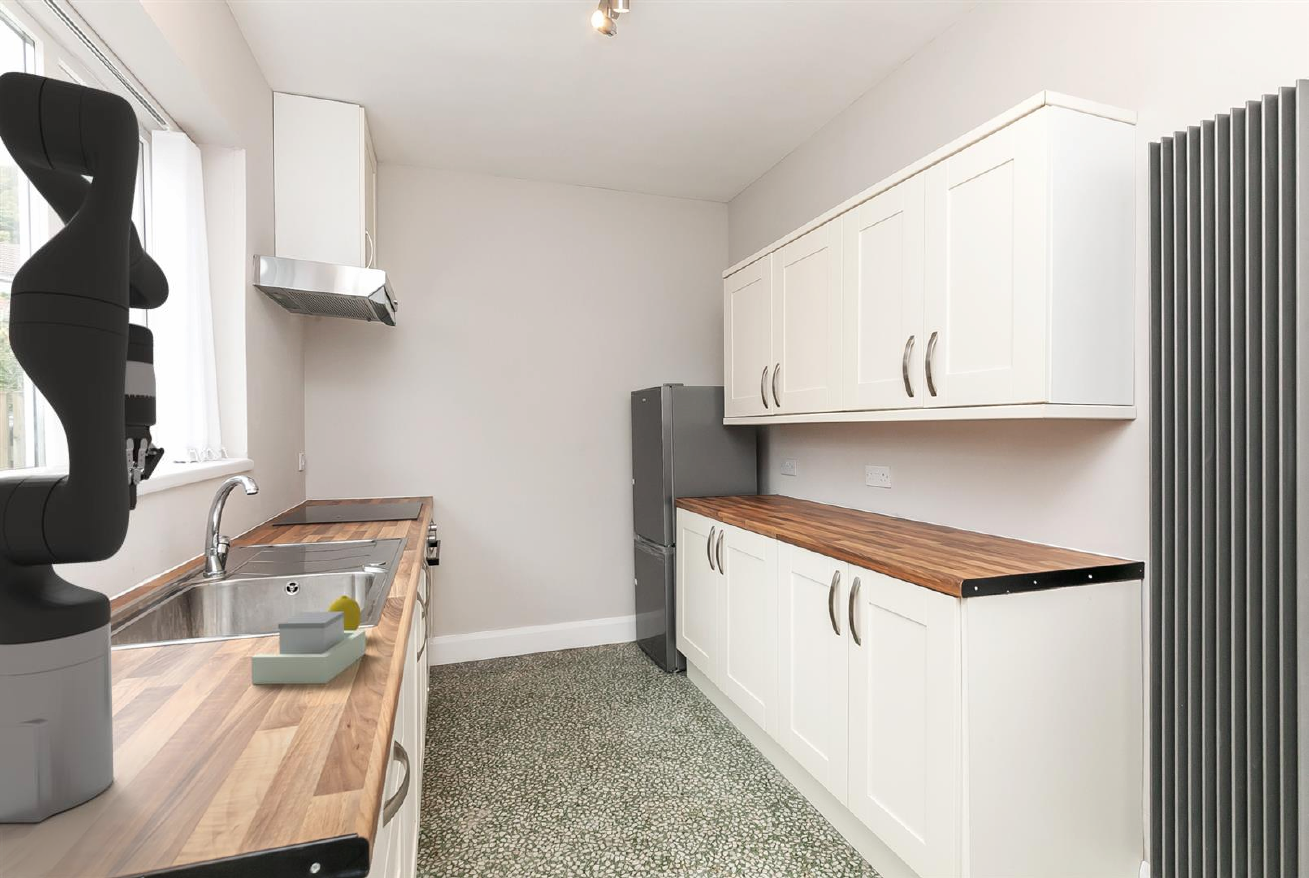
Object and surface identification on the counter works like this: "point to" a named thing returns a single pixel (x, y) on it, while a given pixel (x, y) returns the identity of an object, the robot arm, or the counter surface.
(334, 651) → the bay
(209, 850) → the counter surface
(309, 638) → the lidded grey box
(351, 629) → the lemon
